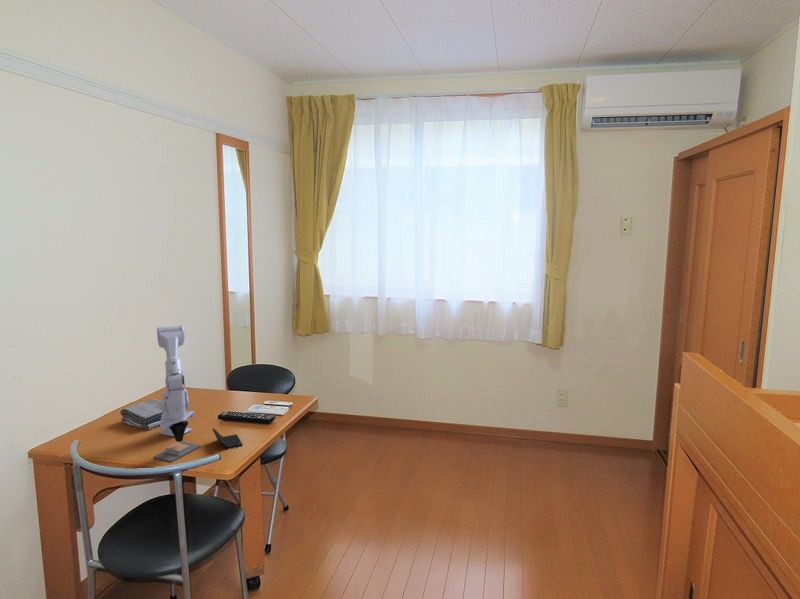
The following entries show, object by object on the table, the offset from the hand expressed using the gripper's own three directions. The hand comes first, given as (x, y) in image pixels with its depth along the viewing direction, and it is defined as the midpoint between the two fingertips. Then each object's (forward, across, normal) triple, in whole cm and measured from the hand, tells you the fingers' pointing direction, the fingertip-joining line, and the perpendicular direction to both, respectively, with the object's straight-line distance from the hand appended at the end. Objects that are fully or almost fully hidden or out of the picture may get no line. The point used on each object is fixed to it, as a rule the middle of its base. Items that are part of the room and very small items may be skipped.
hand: (179, 440), depth 189 cm
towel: (+4, +17, +35) cm, 39 cm away
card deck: (+3, +2, 0) cm, 3 cm away
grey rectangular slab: (+4, -1, 0) cm, 4 cm away
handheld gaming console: (+4, +12, -12) cm, 18 cm away
